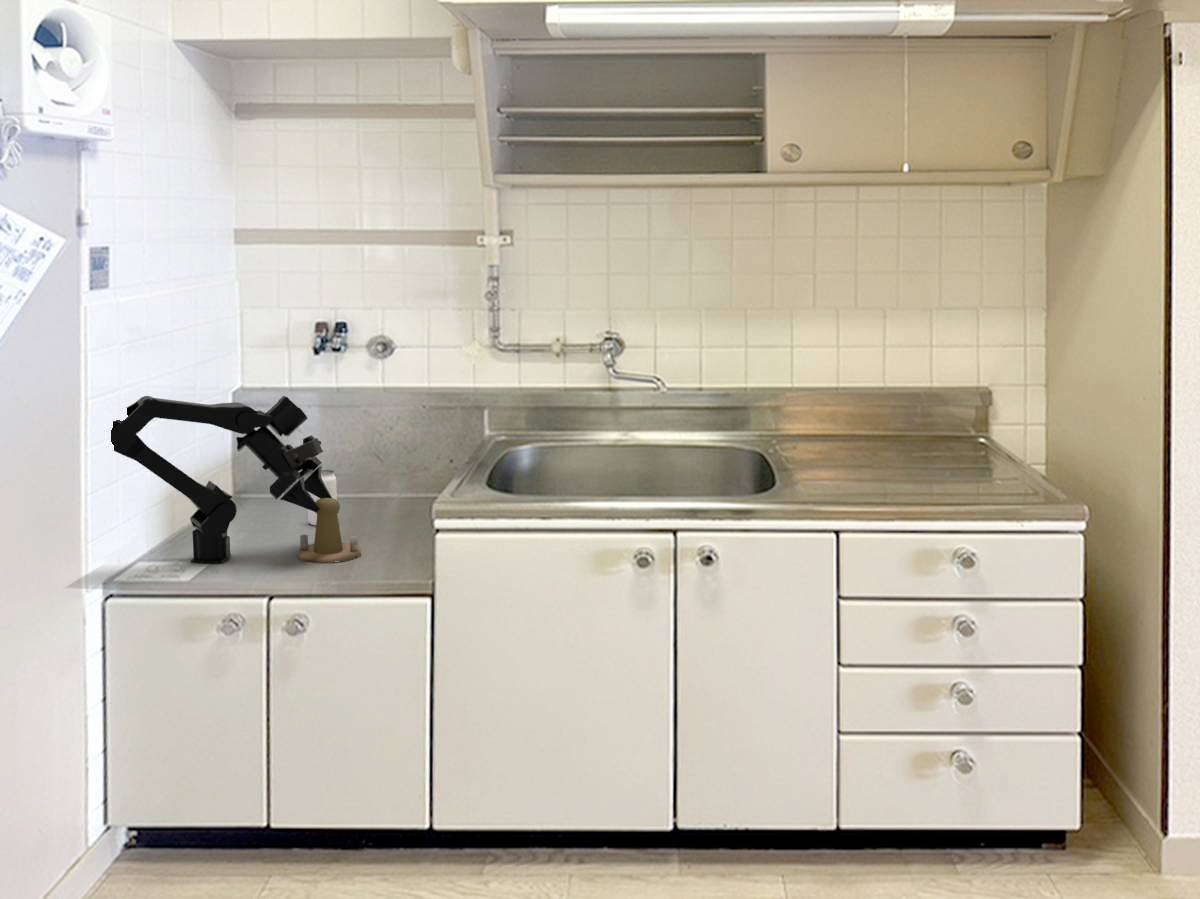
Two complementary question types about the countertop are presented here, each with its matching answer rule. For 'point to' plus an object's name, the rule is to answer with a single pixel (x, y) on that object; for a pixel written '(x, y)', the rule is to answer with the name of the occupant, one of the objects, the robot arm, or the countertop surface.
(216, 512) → the robot arm
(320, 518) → the cork
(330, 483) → the can
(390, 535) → the countertop surface
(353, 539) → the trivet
